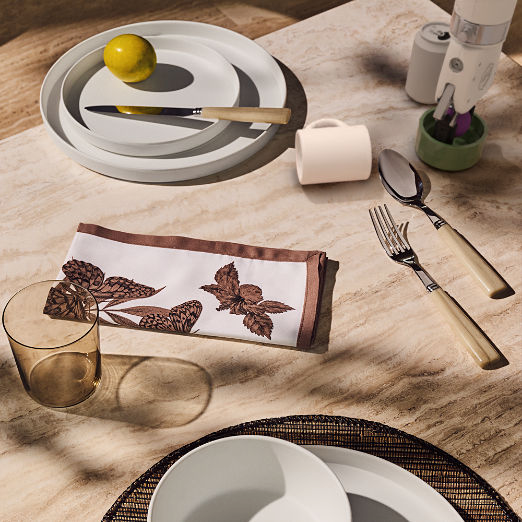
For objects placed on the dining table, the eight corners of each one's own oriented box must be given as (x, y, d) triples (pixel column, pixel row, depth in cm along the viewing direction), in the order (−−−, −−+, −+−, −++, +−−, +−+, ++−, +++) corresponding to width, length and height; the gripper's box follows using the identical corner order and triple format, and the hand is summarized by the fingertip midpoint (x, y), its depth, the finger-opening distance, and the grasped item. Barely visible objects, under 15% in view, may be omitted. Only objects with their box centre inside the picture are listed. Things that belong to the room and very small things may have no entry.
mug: (368, 190, 101) (374, 148, 95) (301, 195, 100) (303, 154, 94) (352, 138, 109) (357, 97, 102) (290, 143, 108) (292, 101, 102)
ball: (460, 122, 106) (468, 95, 102) (471, 143, 102) (479, 116, 99) (429, 125, 105) (435, 98, 101) (438, 146, 102) (445, 119, 98)
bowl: (468, 128, 110) (475, 102, 106) (489, 170, 103) (497, 144, 100) (406, 133, 109) (411, 107, 105) (423, 176, 103) (429, 150, 99)
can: (432, 112, 113) (447, 48, 104) (395, 94, 116) (406, 31, 107) (457, 92, 116) (473, 28, 107) (420, 75, 120) (432, 12, 110)
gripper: (476, 62, 84) (446, 173, 98) (533, 6, 93) (498, 115, 106) (422, 41, 87) (400, 152, 101) (482, -11, 96) (454, 97, 109)
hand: (450, 132), depth 103 cm, fingers closed on ball, 4 cm apart
